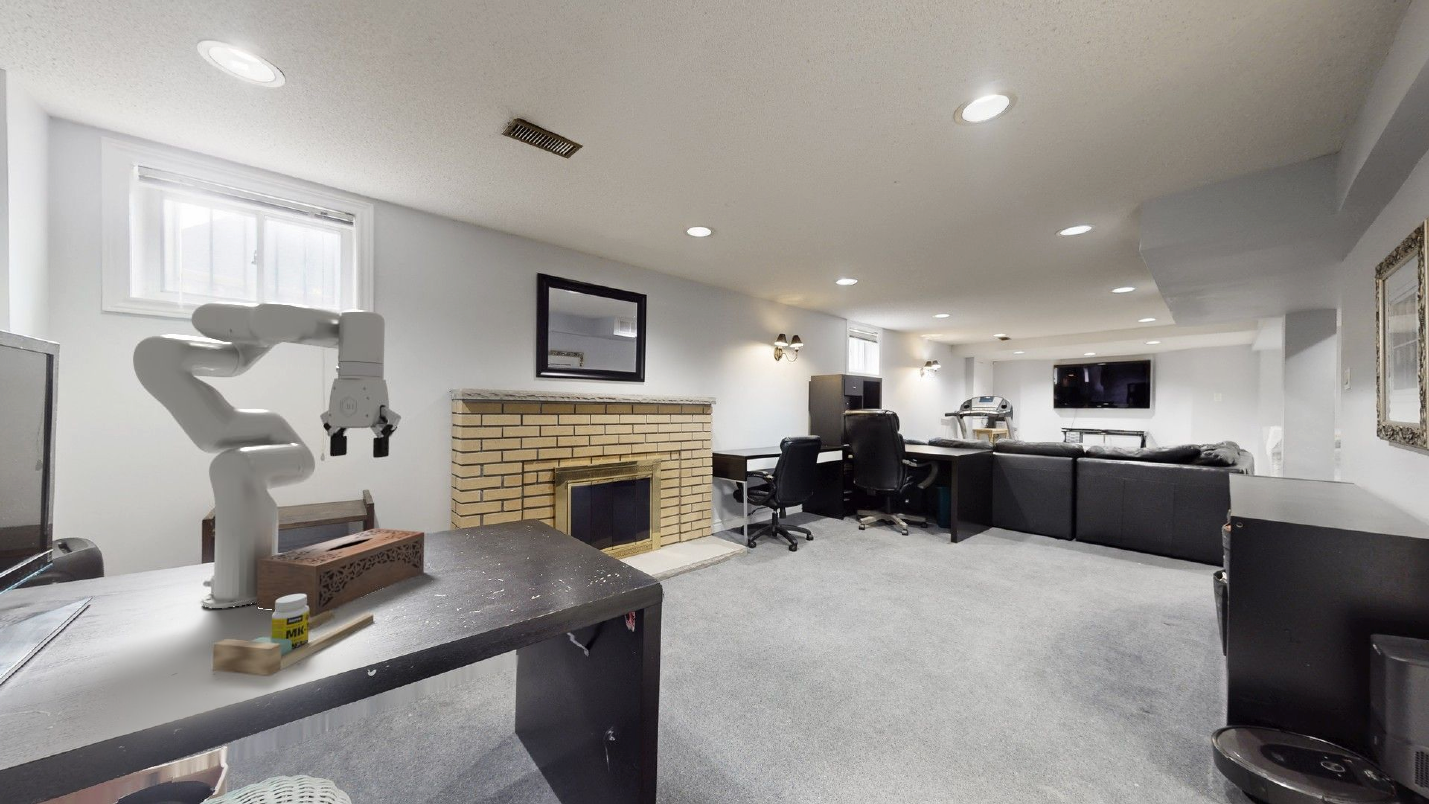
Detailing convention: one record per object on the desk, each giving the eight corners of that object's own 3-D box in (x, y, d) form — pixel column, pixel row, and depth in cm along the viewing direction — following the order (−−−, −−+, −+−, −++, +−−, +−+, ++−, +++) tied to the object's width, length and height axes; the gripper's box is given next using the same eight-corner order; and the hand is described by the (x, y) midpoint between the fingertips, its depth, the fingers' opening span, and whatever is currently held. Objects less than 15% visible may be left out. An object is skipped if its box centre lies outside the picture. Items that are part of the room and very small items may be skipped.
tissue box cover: (375, 567, 120) (376, 528, 120) (423, 573, 117) (424, 532, 117) (257, 610, 95) (258, 559, 95) (314, 618, 92) (315, 566, 92)
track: (212, 669, 73) (213, 643, 73) (326, 617, 92) (327, 596, 92) (269, 675, 72) (270, 649, 72) (373, 621, 90) (373, 599, 90)
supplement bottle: (285, 657, 77) (286, 605, 77) (262, 653, 78) (263, 602, 78) (315, 643, 82) (317, 593, 82) (293, 640, 83) (294, 591, 83)
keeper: (239, 663, 75) (240, 646, 75) (260, 654, 78) (260, 636, 78) (271, 667, 74) (272, 649, 74) (291, 657, 77) (291, 639, 77)
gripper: (306, 370, 95) (304, 457, 95) (384, 371, 93) (382, 459, 92) (340, 373, 102) (338, 453, 102) (413, 373, 100) (412, 455, 100)
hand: (359, 456), depth 97 cm, fingers open, 9 cm apart
